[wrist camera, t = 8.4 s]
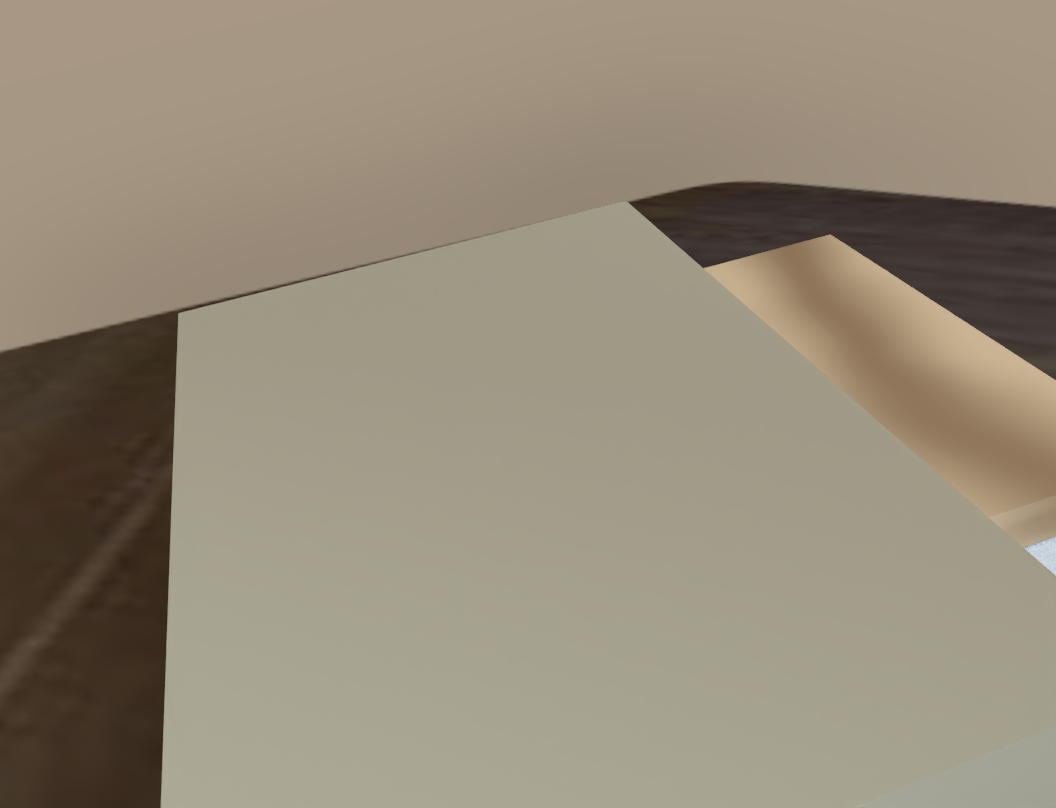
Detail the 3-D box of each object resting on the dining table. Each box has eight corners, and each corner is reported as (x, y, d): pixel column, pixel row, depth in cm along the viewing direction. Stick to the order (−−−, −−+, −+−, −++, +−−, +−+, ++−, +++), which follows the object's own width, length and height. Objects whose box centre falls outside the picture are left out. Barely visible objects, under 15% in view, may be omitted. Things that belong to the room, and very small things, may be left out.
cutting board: (827, 271, 33) (830, 234, 32) (1152, 501, 22) (1170, 455, 21) (355, 401, 30) (344, 364, 29) (451, 750, 18) (439, 708, 18)
